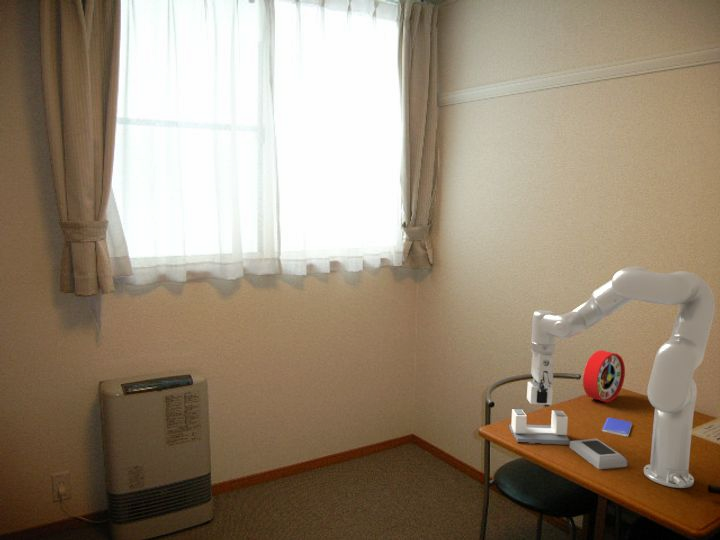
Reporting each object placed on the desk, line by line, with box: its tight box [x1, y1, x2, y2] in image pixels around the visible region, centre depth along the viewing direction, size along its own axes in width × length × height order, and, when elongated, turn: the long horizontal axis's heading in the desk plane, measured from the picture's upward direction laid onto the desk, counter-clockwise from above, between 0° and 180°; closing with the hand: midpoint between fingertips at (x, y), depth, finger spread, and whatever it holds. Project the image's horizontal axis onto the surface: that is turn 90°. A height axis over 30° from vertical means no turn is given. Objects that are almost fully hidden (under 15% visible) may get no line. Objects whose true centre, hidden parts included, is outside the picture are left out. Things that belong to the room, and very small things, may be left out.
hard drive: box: [601, 417, 633, 438], centre depth 190 cm, size 2×8×12 cm
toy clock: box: [582, 349, 626, 403], centre depth 217 cm, size 20×6×20 cm, turn 124°
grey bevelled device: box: [569, 438, 628, 470], centre depth 167 cm, size 10×4×15 cm
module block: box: [526, 381, 554, 406], centre depth 180 cm, size 5×7×6 cm
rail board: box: [508, 408, 571, 446], centre depth 181 cm, size 12×17×8 cm
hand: (539, 399), depth 181 cm, fingers closed on module block, 5 cm apart
